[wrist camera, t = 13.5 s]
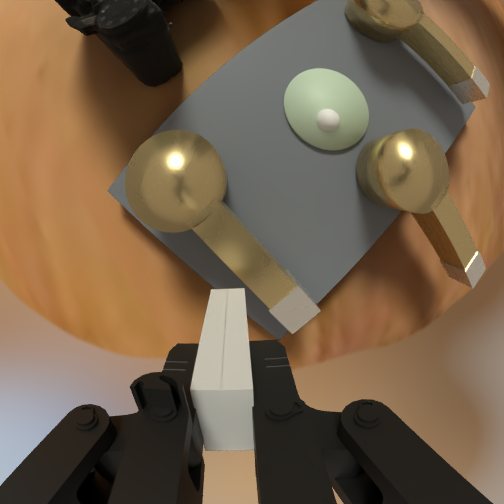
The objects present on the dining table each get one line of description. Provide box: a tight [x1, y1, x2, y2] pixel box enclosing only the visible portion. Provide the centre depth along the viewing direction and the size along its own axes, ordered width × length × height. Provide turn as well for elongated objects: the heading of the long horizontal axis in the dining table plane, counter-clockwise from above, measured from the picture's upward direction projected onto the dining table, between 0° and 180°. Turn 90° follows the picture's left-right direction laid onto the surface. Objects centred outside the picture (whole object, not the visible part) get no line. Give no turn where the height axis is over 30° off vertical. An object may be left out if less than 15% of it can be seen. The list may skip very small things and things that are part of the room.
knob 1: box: [125, 130, 321, 334], centre depth 15 cm, size 12×5×4 cm, turn 42°
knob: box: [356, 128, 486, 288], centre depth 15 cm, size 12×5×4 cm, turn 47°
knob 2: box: [345, 0, 490, 104], centre depth 12 cm, size 12×5×4 cm, turn 56°
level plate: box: [108, 0, 475, 340], centre depth 16 cm, size 28×16×3 cm, turn 137°
